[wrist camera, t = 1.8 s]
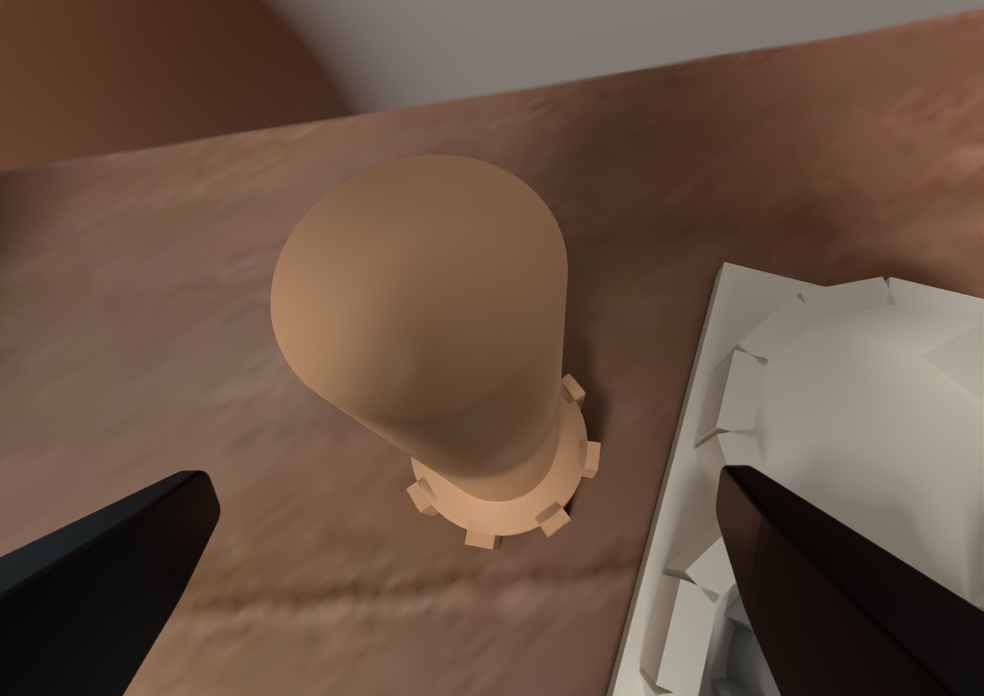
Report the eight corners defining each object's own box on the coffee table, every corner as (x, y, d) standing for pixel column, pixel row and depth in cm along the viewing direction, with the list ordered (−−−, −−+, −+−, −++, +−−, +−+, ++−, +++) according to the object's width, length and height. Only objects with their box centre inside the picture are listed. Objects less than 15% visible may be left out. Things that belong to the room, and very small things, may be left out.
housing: (1049, 1087, 12) (1441, 1510, 6) (571, 827, 14) (584, 981, 9) (1051, 360, 18) (1255, 284, 12) (716, 275, 20) (772, 183, 15)
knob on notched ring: (634, 472, 18) (808, 312, 6) (478, 590, 17) (301, 694, 5) (522, 334, 20) (483, 23, 8) (382, 431, 19) (108, 239, 7)
